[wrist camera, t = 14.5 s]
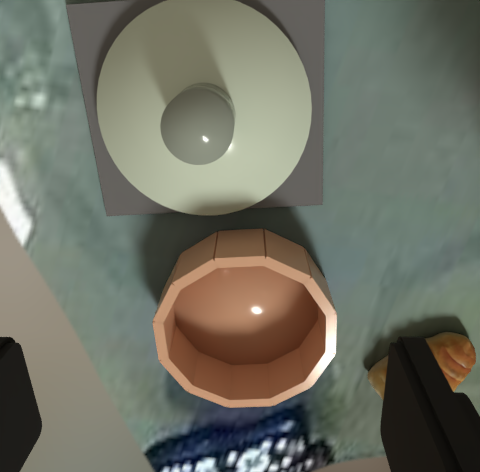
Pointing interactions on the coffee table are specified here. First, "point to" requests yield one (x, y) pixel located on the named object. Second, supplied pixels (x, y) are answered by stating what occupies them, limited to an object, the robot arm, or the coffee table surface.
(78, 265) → the coffee table surface
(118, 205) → the mat
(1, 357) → the robot arm
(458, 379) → the pastry
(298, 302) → the bowl
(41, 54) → the coffee table surface
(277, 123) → the lid
